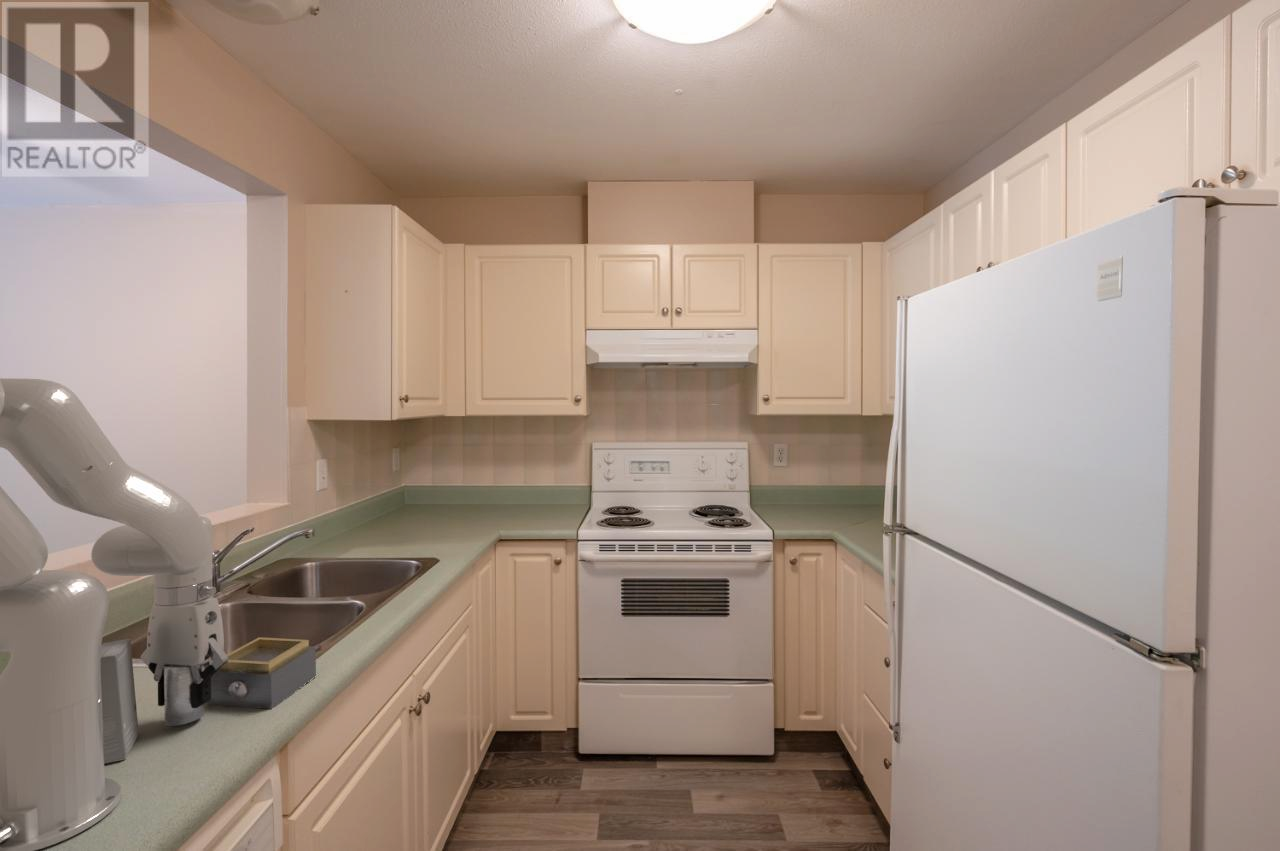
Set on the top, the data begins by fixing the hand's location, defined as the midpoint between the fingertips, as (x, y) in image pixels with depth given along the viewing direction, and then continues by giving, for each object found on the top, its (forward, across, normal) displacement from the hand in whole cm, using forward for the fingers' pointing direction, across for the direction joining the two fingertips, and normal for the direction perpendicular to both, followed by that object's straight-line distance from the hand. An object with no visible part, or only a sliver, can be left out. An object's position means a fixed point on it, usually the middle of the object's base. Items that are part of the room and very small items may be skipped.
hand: (184, 701), depth 95 cm
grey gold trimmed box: (+3, -5, -11) cm, 13 cm away
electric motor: (+3, 0, 0) cm, 3 cm away
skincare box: (+4, +5, +9) cm, 11 cm away
